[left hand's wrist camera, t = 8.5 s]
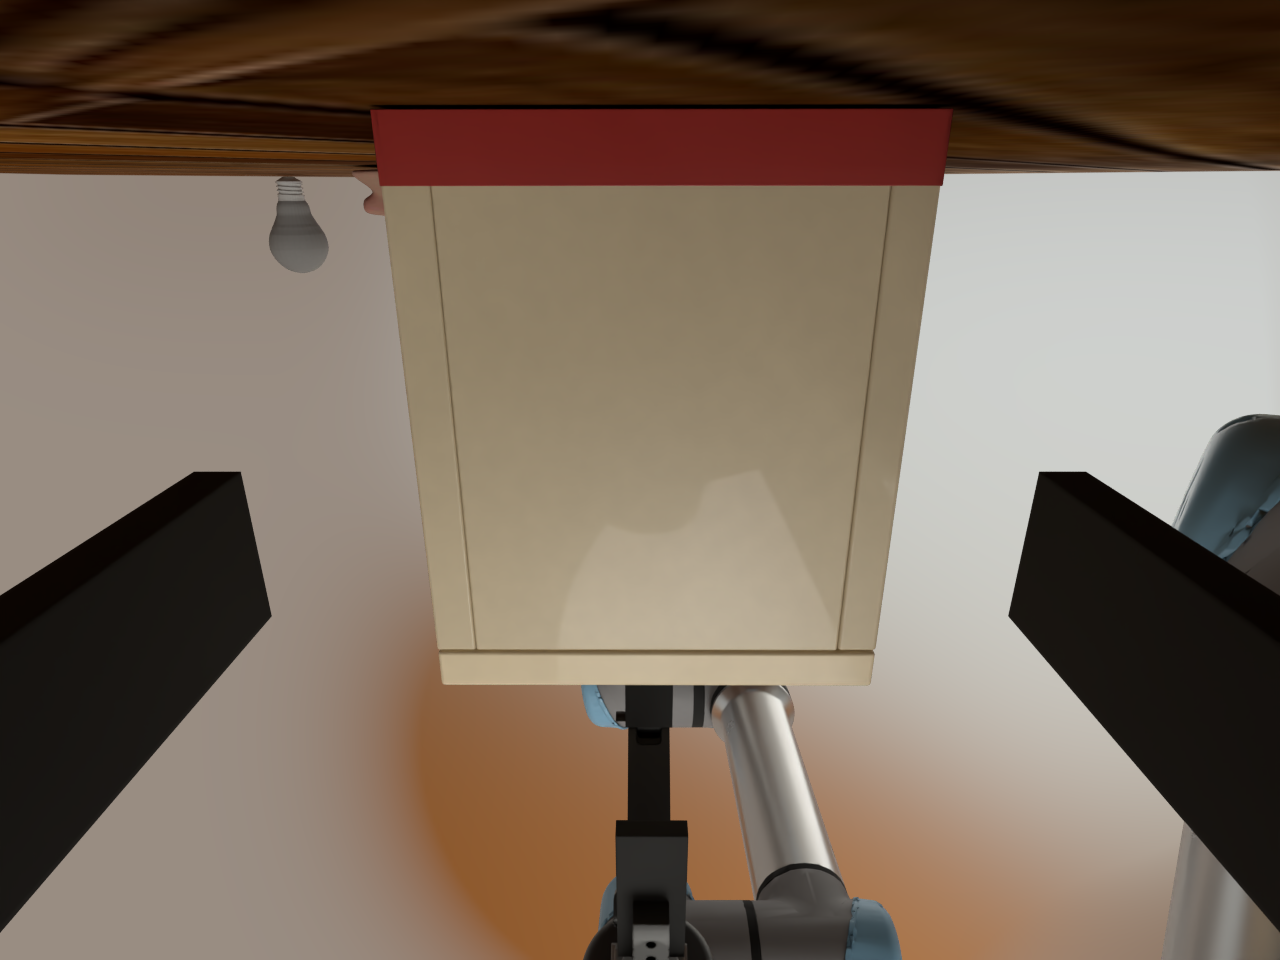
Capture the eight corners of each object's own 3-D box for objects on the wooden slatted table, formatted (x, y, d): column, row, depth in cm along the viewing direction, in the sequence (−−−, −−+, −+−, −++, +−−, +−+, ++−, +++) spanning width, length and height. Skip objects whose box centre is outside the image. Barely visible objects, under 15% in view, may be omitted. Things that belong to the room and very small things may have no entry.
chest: (775, 152, 28) (758, 414, 31) (527, 152, 28) (541, 414, 31) (953, 108, 12) (877, 651, 15) (370, 109, 12) (436, 650, 16)
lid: (755, 409, 32) (745, 567, 35) (544, 409, 32) (552, 566, 35) (876, 653, 15) (839, 916, 18) (436, 652, 16) (469, 915, 18)
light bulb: (306, 176, 77) (321, 275, 80) (325, 177, 82) (339, 269, 86) (247, 176, 76) (265, 275, 80) (270, 177, 82) (286, 270, 86)
